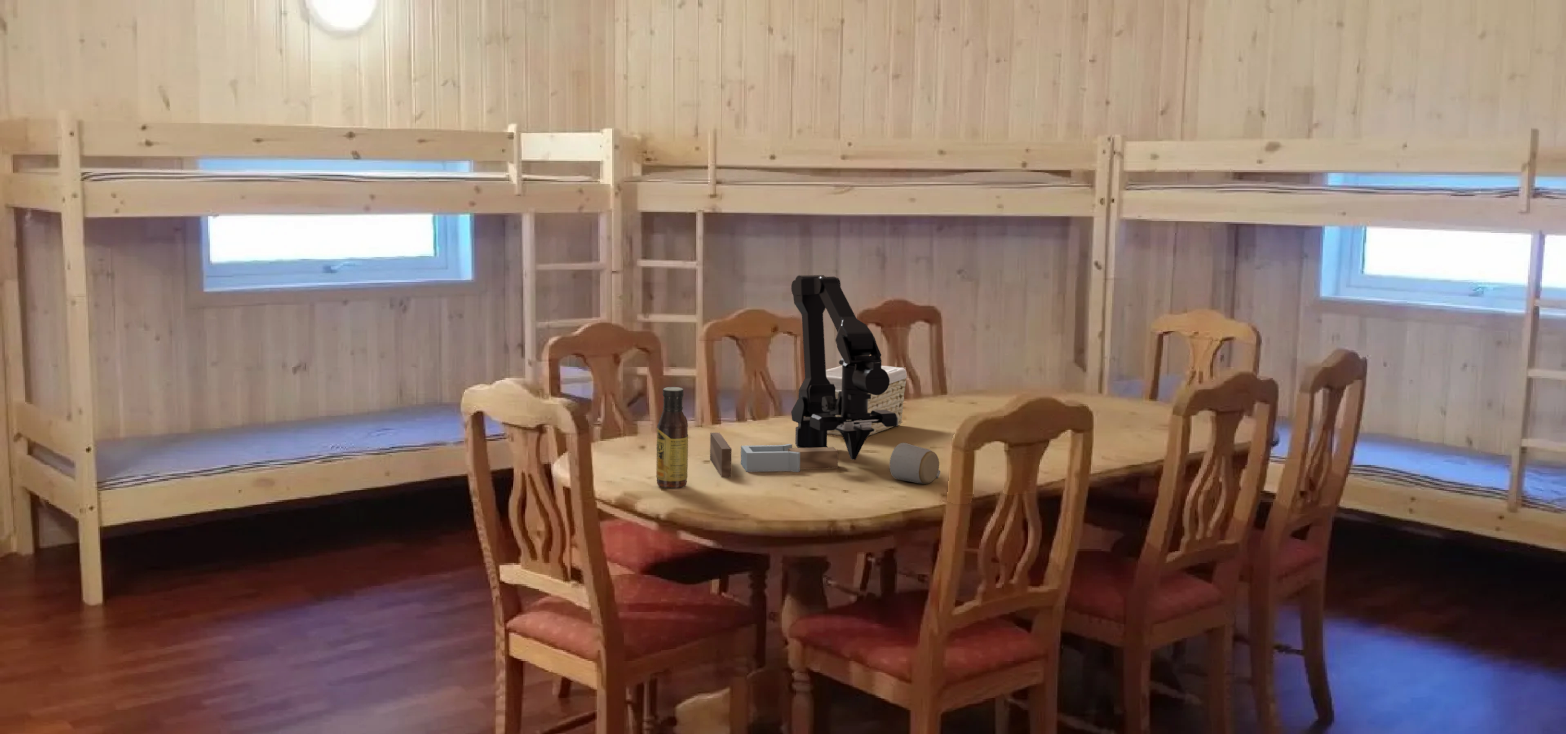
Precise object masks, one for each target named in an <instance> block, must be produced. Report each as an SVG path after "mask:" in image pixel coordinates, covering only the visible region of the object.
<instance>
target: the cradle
mask: <svg viewBox="0 0 1566 734" xmlns="http://www.w3.org/2000/svg"><path fill="white" fill-rule="evenodd" d="M788 448H793V444H791V443H787V444H776V445H775V444H772V445H771V444H769V445H767V444H766V445H762V444H760V445H741V446H740V465H741V466H742V468H743V469H744V471H745V472H746V473H749V472H753V473H754V472H755V473H756V472H794V473H795V472H796V473H800V471H801V469H800V453H798V452H791V451H789V452H788Z"/></svg>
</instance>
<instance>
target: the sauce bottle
mask: <svg viewBox="0 0 1566 734" xmlns="http://www.w3.org/2000/svg"><path fill="white" fill-rule="evenodd" d="M662 395H663V407H662V412H661V416H660V418H659V420H658V423H657V426H656V468H655V469H656V471H655V472H656V475H655V477H656V484H657V485H658V486H659V487H661V488H663V489H664V488H665V489H666V488H667V489H668V488H669V489H681V488H684V487H686V485H687V484H688V483H687V482H688V481H687V480H688V470H689V469H688V463H689V460H688V458H689V457H688V456H689V455H688V453H689V434H688V431H689V428H688V427H689V424H688V420H687V416H686V415H684V414H685V413H684V412H683V408H684V406H683V398H684V388H682V387H676V386H668V387H664V388H663V389H662Z"/></svg>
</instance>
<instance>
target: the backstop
mask: <svg viewBox="0 0 1566 734" xmlns="http://www.w3.org/2000/svg"><path fill="white" fill-rule="evenodd" d="M709 433H710V437H709V441H710V442H709V445H710V446H709V461H710V462H711V463H712V466H714V468H715V470H716V471H717V473H718V475H719V476H720V478H731V477H732V453H733V452H732V447H731V446H730V445H729V443H728V442H727V440H725V439H726V438H724V436H723V435H722V434H721V433H720V432H709Z"/></svg>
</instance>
